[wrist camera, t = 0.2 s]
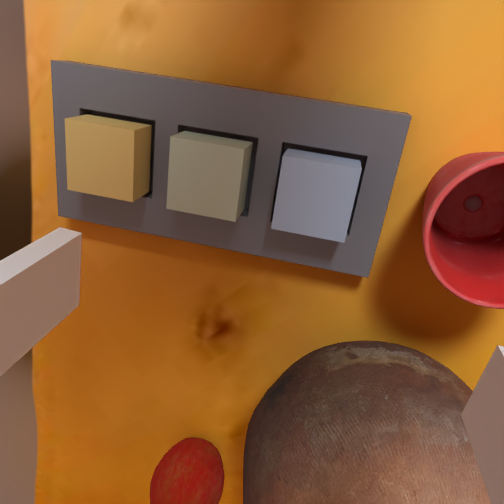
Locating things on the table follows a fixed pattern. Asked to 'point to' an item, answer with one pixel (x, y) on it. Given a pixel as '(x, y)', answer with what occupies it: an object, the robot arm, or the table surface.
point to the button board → (261, 165)
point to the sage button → (208, 175)
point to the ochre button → (108, 157)
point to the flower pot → (467, 228)
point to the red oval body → (188, 474)
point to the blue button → (316, 194)
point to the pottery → (362, 432)
